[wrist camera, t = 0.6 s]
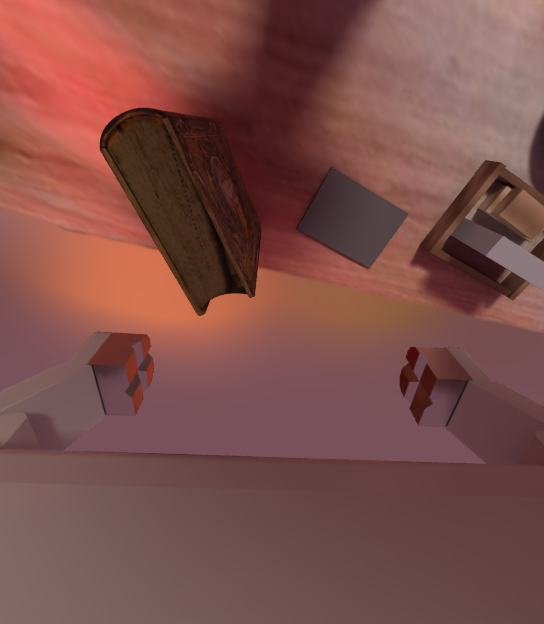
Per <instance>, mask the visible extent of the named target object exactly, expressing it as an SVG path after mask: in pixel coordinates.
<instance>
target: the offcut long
mask: <svg viewBox="0 0 544 624" xmlns="http://www.w3.org/2000/svg"><path fill="white" fill-rule="evenodd" d="M511 190H512V189H511V188H510V187H509V186H507V185H502V184H498V185H497V186H496V187H495V188H494V190H493V191H492V192H491V193H490V194H489V196H488V197H487V198H486V199H485V200H484V202H483V203H482V204H481V205H480V206H479V209H480V210H482V211H483V212H485V213H486V214H488V215H489V216H491V217H492V218H494V219H495V220H497V221H498V222H499V223H501V224H502V225H504V226H505V227H507V228H508V229H510V230H511V231H513V232H514V233H516V234H517V235H519V236H520V237H522V238H523V239H525V240H528V241H530V242H533V241H534V240H535V239H536V238H537V237H538V236H539V235H540V234H541V233H542V232H543V231H544V228H543V229H542V230H541V231H540V232H539V233H538V234H537V235H536V236H535V237H534V238H533V239H532V240H531V239H528V238H526V237H524V236H522V235H521V234H519V233H518V232H517V231H515V230H514V229H513V228H511V227H510V226H509V225H508V224H506V223H505V222H504V221H502V220H501V219H500V218H499V217H497V216H496V215H495V214H493V213H492V212H491V211H492V210H493V209H494V208H495V207H496V206H497V205H498V204H499V203H500V202H501V201H502V200H503V198H504V197H505V196H506V195H507V194H508V193H509V192H510V191H511Z"/></svg>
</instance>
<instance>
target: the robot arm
mask: <svg viewBox="0 0 544 624" xmlns="http://www.w3.org/2000/svg"><path fill="white" fill-rule="evenodd" d="M150 347H151V344H150V339H149V337H148V336H147V335H145V334H129V333H112V332H95V333H93V334H92V336H91V337H90V338H89V339H88V340H87V341H86V342H85V343H84V344H83V346H82V347H81V348H80V349H79V350H78V351H77V352H76V354H75V355H74V356H73V357H72V358H71V359H70V361H69V362H68V363H67V364H59V365H57V366H55V367H53V368H51V369H48V370H46V371H44V372H42V373H40V374H37V375H35V376H33V377H31V378H29V379H27V380H24V381H22V382H20V383H18V384H16V385H13V386H11V387H9V388H7V389H5V390H3V391H0V624H544V406H542V405H540V404H538V403H537V402H534V401H533V400H531V399H529V398H527V397H525V396H523V395H521V394H519V393H518V392H516V391H514V390H512V389H510V388H508V387H506V386H504V385H502V384H500V383H499V382H494V381H493V382H492V381H491V380H490V379H489V378H488V377H487V375H485V373H484V372H483V371H482V370H481V369H480V368H479V367H478V365H477V364H476V363H475V362H474V361H473V360H472V359H471V358H470V357H469V355H468V354H467V353H466V352H465V351H464V350H463V349H461V348H458V347H457V348H456V347H452V348H451V347H443V348H438V347H410V349H409V350H408V352H407V355H406V359H407V361H408V364H407V365H406V366H404V367H403V368H402V370H401V374H400V389H401V392H402V394H403V397H404V398H405V399H407V400H408V401H409V402H411V406H410V410H411V412H412V414H413V416H414V418H415V420H416V422H417V424H418V425H419V426H433V427H447V428H446V429H447V430H449V431H450V432H451V433H452V434H453V435H454V436H455V437H457V438H458V439H459V440H460V441H461V442H462V443H463V444H465V445H466V446H467V447H468V448H469V449H470V450H471V451H473V452H474V453H475V454H476V455H477V456H478V457H480V458H481V459H482V460H483V461H484V462H485V463H486V464H472V463H439V462H408V461H380V460H350V459H319V458H317V459H316V458H284V457H252V456H220V455H189V454H158V453H157V454H155V453H126V452H92V451H63V450H64V449H66V448H67V447H68V446H69V445H71V444H72V443H73V442H74V441H76V440H77V439H78V438H80V437H81V436H82V435H83V434H84V433H86V432H87V431H88V430H90V429H91V428H92V427H93V426H95V425H96V424H97V423H98V422H100V421H101V420H102V419H103V418H105V415H136V414H137V411H138V409H139V407H140V405H141V403H142V401H143V399H144V397H143V391H144V390H146V389H148V388H149V386H150V384H151V382H152V377H153V373H154V363H153V358H152V357H151V356H150V355H149V354H148V351H149V349H150Z"/></svg>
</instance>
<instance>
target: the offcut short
mask: <svg viewBox="0 0 544 624" xmlns="http://www.w3.org/2000/svg"><path fill="white" fill-rule="evenodd" d="M491 212H492V213H493V214H495V215H496V216H497V217H499V218H500V219H501V220H502V221H504V222H505V223H506V224H508V225H509V226H510V227H511V228H513V229H514V230H515V231H517V232H518V233H519V234H521V235H522V236H524V237H526V238H528V239H531V240H532V239H533V238H534V237H535V236H536V235H537V234H538V233H539V232H540V231H541V230H542V229H543V228H544V206H543V205H542V204H540V203H539V202H538V201H537V200H535V199H534V198H533V197H532V196H531V195H529V194H528V193H527V192H526V191H525V190H523V189H519V188H515V187H514V188H513V189H512V190H511V191H510V192H509V193H508V194H507V195H506V196H505V197H504V198H503V200H502V201H501V202H500V203H499V204H498V205H497V206H496V207H495V208H494V209H493V210H492V211H491Z"/></svg>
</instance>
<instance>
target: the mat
mask: <svg viewBox="0 0 544 624" xmlns="http://www.w3.org/2000/svg"><path fill="white" fill-rule="evenodd" d="M407 216H408V213H406V212H405V211H403V210H401V209H400V208H398V207H396V206H395V205H393V204H391V203H390V202H388V201H386V200H385V199H383V198H381V197H380V196H378V195H376V194H375V193H373V192H371V191H370V190H368V189H366V188H365V187H363V186H361V185H360V184H358V183H356V182H355V181H353V180H351V179H350V178H348V177H346V176H345V175H343V174H341V173H340V172H338V171H336V170H335V169H333V168H331V169H330V170H329V172H328V174H327V176H326V178H325V179H324V181H323V183H322V185H321V186H320V188H319V190H318V192H317V194H316V195H315V197H314V199H313V201H312V202H311V204H310V206H309V208H308V210H307V211H306V213H305V215H304V217H303V218H302V220H301V222H300V224H299V225H298V227H297V230H299V231H301V232H303V233H304V234H306V235H308V236H310V237H312V238H314V239H316V240H318V241H319V242H321V243H323V244H325V245H327V246H329V247H331V248H333V249H334V250H336V251H338V252H340V253H342V254H344V255H346V256H348V257H349V258H351V259H353V260H355V261H357V262H359V263H361V264H363V265H365V266H366V267H368V268H370V267H371V266H372V264H373V263H374V262H375V260H376V259H377V257H378V256H379V255H380V253H381V252H382V250H383V249H384V248H385V246H386V245H387V244H388V242H389V241H390V239H391V238H392V237H393V235H394V234H395V232H396V231H397V230H398V228H399V227H400V225H401V224H402V223H403V221H404V220H405V219H406V217H407Z"/></svg>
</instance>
